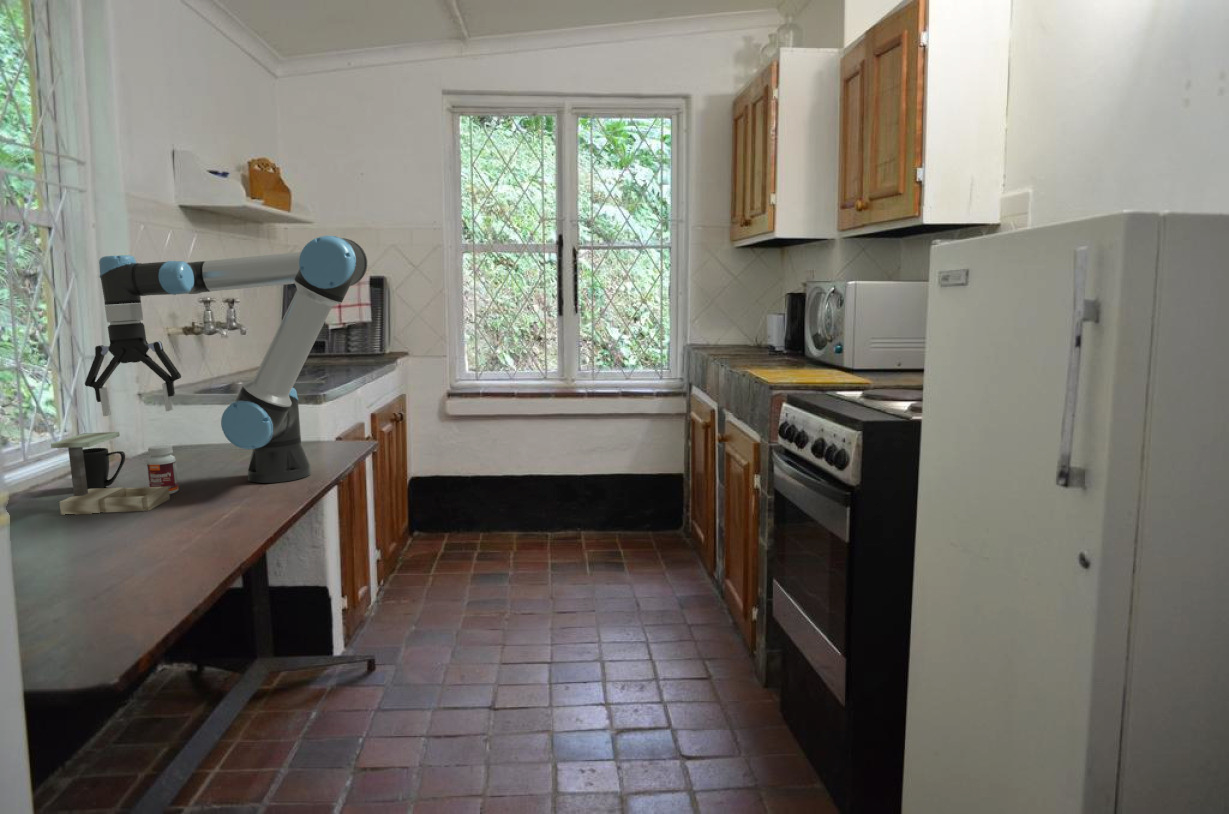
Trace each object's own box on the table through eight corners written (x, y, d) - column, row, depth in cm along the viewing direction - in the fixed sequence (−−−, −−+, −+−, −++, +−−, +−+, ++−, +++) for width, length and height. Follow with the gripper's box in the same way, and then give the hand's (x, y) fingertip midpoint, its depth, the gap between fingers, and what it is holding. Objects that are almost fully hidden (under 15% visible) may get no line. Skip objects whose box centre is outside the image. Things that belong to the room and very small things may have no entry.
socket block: (172, 497, 207) (165, 430, 204) (145, 512, 194) (137, 440, 191) (91, 500, 206) (83, 433, 203) (59, 515, 193) (50, 443, 191)
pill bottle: (149, 497, 208) (144, 449, 206) (151, 491, 213) (146, 445, 212) (178, 493, 210) (173, 447, 209) (179, 488, 216) (175, 443, 214)
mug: (121, 490, 216) (116, 452, 215) (68, 493, 214) (63, 455, 213) (133, 482, 224) (129, 445, 223) (82, 485, 222) (77, 448, 221)
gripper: (187, 318, 212) (198, 406, 215) (73, 325, 207) (86, 415, 210) (178, 319, 204) (190, 410, 207) (60, 327, 200) (74, 419, 203)
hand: (138, 413), depth 209 cm, fingers open, 13 cm apart
